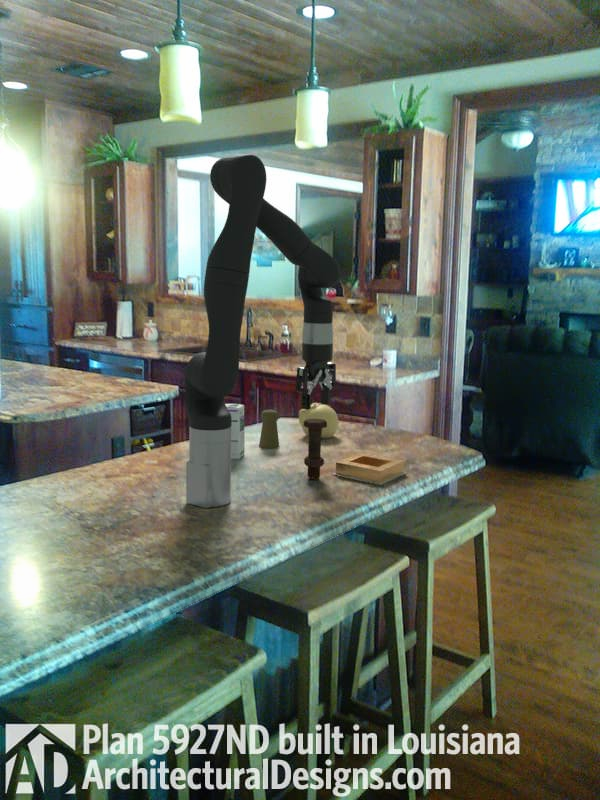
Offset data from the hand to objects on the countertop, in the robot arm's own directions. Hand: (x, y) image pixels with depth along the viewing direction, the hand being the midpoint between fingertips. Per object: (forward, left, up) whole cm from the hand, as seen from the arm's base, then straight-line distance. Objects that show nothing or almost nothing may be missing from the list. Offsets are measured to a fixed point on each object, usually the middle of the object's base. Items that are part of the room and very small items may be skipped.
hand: (315, 406), depth 178 cm
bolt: (0, 0, -19) cm, 19 cm away
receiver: (+13, -9, -18) cm, 24 cm away
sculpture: (+41, +25, -19) cm, 51 cm away
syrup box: (+4, +30, -19) cm, 36 cm away
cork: (+20, +29, -19) cm, 40 cm away
